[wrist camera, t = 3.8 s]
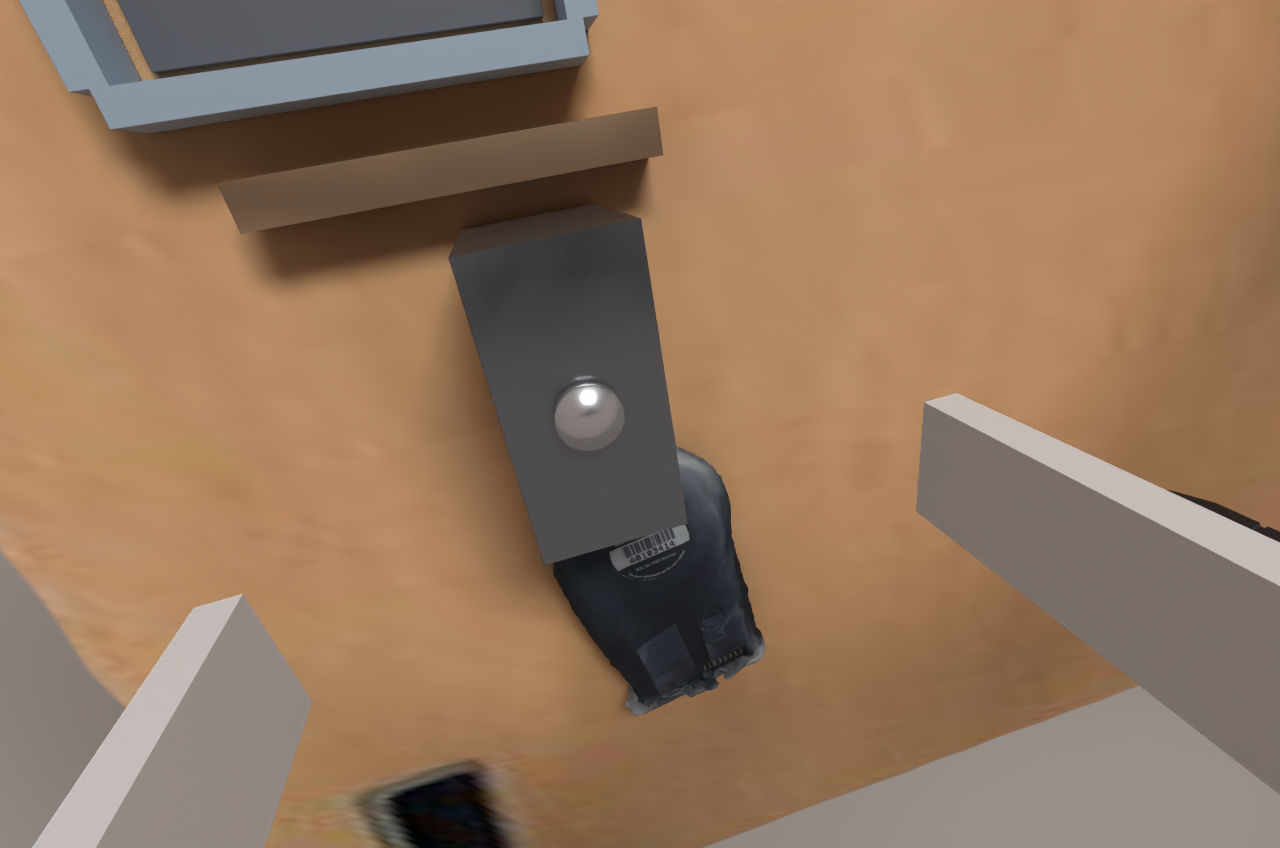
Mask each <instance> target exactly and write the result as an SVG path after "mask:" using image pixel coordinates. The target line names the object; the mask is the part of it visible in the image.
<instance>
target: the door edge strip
mask: <svg viewBox="0 0 1280 848" xmlns="http://www.w3.org/2000/svg"><path fill="white" fill-rule="evenodd" d="M661 155H663V150H662V142H661V135H660V127H659V119H658V111H657V107H652V108H646V109H641V110H635V111H629V112H623V113H618V114H612V115H606V116H600V117H594V118H589V119H583V120H577V121H571V122H566V123H560V124H554V125H548V126H542V127H537V128H531V129H525V130H519V131H513V132H508V133H502V134H496V135H490V136H485V137H479V138H473V139H467V140H461V141H456V142H450V143H444V144H438V145H433V146H427V147H421V148H415V149H409V150H404V151H398V152H392V153H386V154H381V155H375V156H369V157H363V158H357V159H352V160H346V161H340V162H334V163H329V164H323V165H317V166H311V167H305V168H300V169H294V170H288V171H282V172H276V173H271V174H265V175H259V176H253V177H248V178H242V179H236V180H230V181H224V182H219V183H217V184H218V186H219V188H220V190H221V193H222V195H223V197H224V199H225V201H226V203H227V205H228V208H229V210H230V212H231V214H232V216H233V218H234V220H235V223H236V225H237V227H238V229H239V231H240V233H241V234H243V233H249V232H254V231H259V230H265V229H270V228H275V227H281V226H286V225H292V224H297V223H302V222H308V221H313V220H318V219H324V218H329V217H334V216H340V215H345V214H350V213H356V212H361V211H366V210H372V209H377V208H383V207H388V206H393V205H399V204H404V203H409V202H415V201H420V200H425V199H431V198H436V197H441V196H447V195H452V194H458V193H463V192H468V191H474V190H479V189H484V188H490V187H495V186H500V185H506V184H511V183H516V182H522V181H527V180H532V179H538V178H543V177H549V176H554V175H559V174H565V173H570V172H575V171H581V170H586V169H591V168H597V167H602V166H607V165H613V164H618V163H623V162H629V161H634V160H640V159H645V158H650V157H656V156H661Z"/></svg>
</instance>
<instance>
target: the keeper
mask: <svg viewBox="0 0 1280 848" xmlns="http://www.w3.org/2000/svg"><path fill="white" fill-rule="evenodd" d="M19 1H20V3H21V5H22V6H23V8H24V10H25V12H26V14H27V16H28V18H29V19H30V21H31V23H32V25H33V27H34V29H35V30H36V32H37V34H38V36H39V38H40V40H41V41H42V43H43V45H44V47H45V49H46V51H47V53H48V54H49V56H50V58H51V60H52V62H53V64H54V65H55V67H56V69H57V71H58V73H59V75H60V76H61V78H62V80H63V82H64V84H65V86H66V87H67V89H68V91H69V92H72V93H78V94H83V95H88V96H93V97H94V99H95V101H96V103H97V105H98V107H99V109H100V111H101V113H102V115H103V116H104V118H105V120H106V122H107V124H108V126H109V128H110V130H120V131H129V132H138V133H147V134H150V133H157V132H163V131H169V130H176V129H182V128H188V127H195V126H201V125H207V124H214V123H220V122H226V121H233V120H239V119H245V118H252V117H258V116H264V115H270V114H277V113H283V112H289V111H296V110H302V109H308V108H315V107H321V106H327V105H334V104H340V103H346V102H353V101H359V100H365V99H372V98H378V97H384V96H391V95H397V94H403V93H410V92H416V91H422V90H429V89H435V88H441V87H448V86H454V85H460V84H466V83H473V82H479V81H485V80H492V79H498V78H504V77H511V76H517V75H523V74H530V73H536V72H542V71H549V70H555V69H561V68H568V67H574V66H580V65H581V64H582V63H583V62H584V61H585V60H586V58H587V57H588V56H589V49H588V43H587V38H586V32H585V30H588V29H589V28H590V27H591V25H592V24H593V22H594V21H595V19H596V18H597V16H598V9H597V2H596V0H554V3H555V9H556V14H557V19H558V21H553V22H547V23H540V24H533V25H526V26H519V27H512V28H505V29H498V30H491V31H485V32H478V33H471V34H464V35H457V36H450V37H443V38H436V39H429V40H422V41H416V42H409V43H402V44H395V45H388V46H381V47H374V48H367V49H360V50H354V51H347V52H340V53H333V54H326V55H319V56H312V57H305V58H298V59H292V60H285V61H278V62H271V63H264V64H257V65H250V66H243V67H236V68H230V69H223V70H216V71H209V72H202V73H195V74H188V75H181V76H174V77H168V78H161V79H154V80H147V81H141V79H140V77H139V74H138V72H137V70H136V68H135V66H134V64H133V62H132V60H131V58H130V56H129V54H128V52H127V50H126V48H125V46H124V44H123V42H122V40H121V38H120V36H119V34H118V31H117V29H116V27H115V25H114V23H113V21H112V19H111V17H110V15H109V13H108V11H107V9H106V7H105V5H104V3H103V1H102V0H19ZM118 2H119V4H120V7H121V9H122V11H123V13H124V15H125V17H126V19H127V21H128V23H129V25H130V27H131V30H132V32H133V34H134V36H135V38H136V40H137V42H138V44H139V46H140V48H141V50H142V53H143V55H144V57H145V59H146V61H147V63H148V65H149V67H150V69H151V71H152V72H154V73H164V72H171V71H178V70H185V69H192V68H199V67H205V66H212V65H219V64H226V63H233V62H240V61H247V60H254V59H261V58H268V57H275V56H282V55H289V54H296V53H303V52H310V51H317V50H324V49H331V48H338V47H345V46H352V45H359V44H365V43H372V42H379V41H386V40H393V39H400V38H407V37H414V36H421V35H428V34H435V33H442V32H449V31H456V30H463V29H470V28H477V27H484V26H491V25H498V24H505V23H512V22H519V21H525V20H532V19H539V18H543V13H542V7H541V2H540V0H118Z"/></svg>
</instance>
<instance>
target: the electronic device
mask: <svg viewBox="0 0 1280 848" xmlns="http://www.w3.org/2000/svg"><path fill="white" fill-rule="evenodd" d="M676 451H677V458H678V464H679V471H680V477H681V484H682V490H683V497H684V504H685V510H686V517H687V523H688V524H685V525H681V526H678V527H675V528H671V529H668V530H664V531H661V532H657V533H654V534H650V535H647V536H644V537H640V538H637V539H633V540H630V541H626V542H623V543H620V544H616V545H613V546H609V547H606V548H602V549H599V550H595V551H592V552H589V553H585V554H582V555H578V556H575V557H571V558H568V559H565V560H561V561H558V562H554V563H553V572H554V576H555V578H556V579H557V581H558V583H559V585H560V586H561V588H562V590H563V592H564V595H565V596H566V598H567V599H568V600H569V602H570V605H571V607H572V609H573V611H574V613H575V614H576V615H577V616H578V617H579V619H580V621H581V622H582V624H583V625H584V626H585V628H586V629H587V631H588V633H589V634H590V636H591V637H592V639H593V640H594V641H595V642H596V644H597V645H598V646H599V647H600V649H601V650H602V652H603V653H604V654H605V656H606V657H607V658H608V659H609V661H610V663H611V665H613V666H614V667H615V668H616V669H617V670H619V671H620V673H621V674H622V675H623V677H624V678H625V680H626V681H627V682H628V683H629V688H628V698H627V702H626V704H625V706H626V708H627V709H630V711H631V712H632V714H633V715H635V716H637V715H644V714H646V713H648V712H650V711H652V710H654V709H656V708H658V707H660V706H662V705H664V704H666V703H668V702H670V701H672V700H674V699H676V698H678V697H680V696H682V695H688V696H689V697H693V696H695V695H697V694H700V693H702V692H704V691H707V690H713V689H715V688H717V687H718V685H719V683H718V682H717V681H716V679H717V677H718V676H720V675H722V674H725V675H724V679H728V678H730V677H733V676H734V675H735V674H736V673H737V672H738V671H739V670H740V669H742V668H743V667H745V666H747V665H750V664H753V663H756V662H758V661H759V660H760V659H761V658H762V657H763V654H764V651H765V643H764V639H763V636H762V634H761V631H760V630H759V629H758V628H757V627H756V625H755V621H754V615H753V612H752V608H751V604H750V602H749V598H748V587H747V585H746V584H745V582H744V579H743V575H742V573H741V568H740V563H739V560H738V558H737V554H736V551H735V547H734V541H733V539H732V536H731V535H732V530H731V506H730V501H729V497H728V494H727V491H726V488H725V486H724V484H723V482H722V479H721V476H720V475H718V474H717V473H716V470H715V469H714V468H713V466H711V465H710V464H708V463H707V462H706V461H705V460H704V459H702V458H700V457H699V456H697V455H695V454H693V453H691V452H688V451H686V450H684V449H682V448H679V447H676Z"/></svg>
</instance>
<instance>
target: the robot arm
mask: <svg viewBox="0 0 1280 848" xmlns="http://www.w3.org/2000/svg"><path fill="white" fill-rule="evenodd" d="M916 511H917V512H918V513H919V514H920V515H922V516H923V517H924V518H926V519H927V520H928V521H929V522H931V523H932V524H933V525H934V526H936V527H937V528H938V529H940V530H941V531H942V532H943V533H945V534H946V535H947V536H949V537H950V538H951V539H952V540H954V541H955V542H956V543H958V544H959V545H960V546H961V547H963V548H964V549H965V550H967V551H968V552H969V553H970V554H972V555H973V556H974V557H976V558H977V559H978V560H979V561H981V562H982V563H983V564H984V565H986V566H987V567H988V568H990V569H991V570H992V571H993V572H995V573H996V574H997V575H999V576H1000V577H1001V578H1002V579H1004V580H1005V581H1006V582H1008V583H1009V584H1010V585H1011V586H1013V587H1014V588H1015V589H1017V590H1018V591H1019V592H1020V593H1022V594H1023V595H1024V596H1026V597H1027V598H1028V599H1029V600H1031V601H1032V602H1033V603H1034V604H1036V605H1037V606H1038V607H1040V608H1041V609H1042V610H1043V611H1045V612H1046V613H1047V614H1049V615H1050V616H1051V617H1052V618H1054V619H1055V620H1056V621H1058V622H1059V623H1060V624H1061V625H1063V626H1064V627H1065V628H1067V629H1068V630H1069V631H1070V632H1072V633H1073V634H1074V635H1076V636H1077V637H1078V638H1079V639H1081V640H1082V641H1083V642H1084V643H1086V644H1087V645H1088V646H1090V647H1091V648H1092V649H1093V650H1095V651H1096V652H1097V653H1099V654H1100V655H1101V656H1102V657H1104V658H1105V659H1106V660H1108V661H1109V662H1110V663H1111V664H1113V665H1114V666H1115V667H1117V668H1118V669H1119V670H1120V671H1122V672H1123V673H1124V674H1126V675H1127V676H1128V677H1129V678H1131V679H1132V680H1133V681H1134V682H1136V683H1137V684H1138V685H1140V686H1141V687H1142V688H1143V689H1145V690H1146V691H1147V692H1149V693H1150V694H1151V695H1152V696H1154V697H1155V698H1156V699H1158V700H1159V701H1160V702H1161V703H1163V704H1164V705H1165V706H1167V707H1168V708H1169V709H1170V710H1172V711H1173V712H1174V713H1176V714H1177V715H1179V717H1181V718H1182V719H1183V720H1184V721H1186V722H1187V723H1188V724H1190V725H1191V726H1192V727H1193V728H1195V729H1196V730H1197V731H1199V732H1200V733H1201V734H1203V735H1204V736H1205V737H1206V738H1208V739H1209V740H1210V741H1211V742H1213V743H1214V744H1215V745H1217V746H1218V747H1219V748H1220V749H1222V750H1223V751H1224V752H1226V753H1227V754H1228V755H1229V756H1231V757H1232V758H1233V759H1235V760H1236V761H1237V762H1238V763H1240V764H1241V765H1242V766H1243V767H1245V768H1246V769H1247V770H1249V771H1250V772H1251V773H1252V774H1254V775H1255V776H1256V777H1258V778H1259V779H1260V780H1261V781H1263V782H1264V783H1265V784H1267V785H1268V786H1269V787H1270V788H1272V789H1273V790H1274V791H1276V792H1277V793H1278V794H1280V532H1279V531H1277V530H1275V529H1272V528H1270V527H1267V528H1263V527H1261V526H1260V523H1259V522H1257V521H1255V520H1252V519H1250V518H1248V517H1246V516H1243V515H1241V514H1239V513H1237V512H1234V511H1232V510H1230V509H1228V508H1226V507H1223V506H1221V505H1219V504H1217V503H1214V502H1210V501H1207V500H1203V499H1199V498H1196V497H1192V496H1189V495H1185V494H1182V493H1178V492H1174V491H1171V490H1165V489H1163V488H1161V487H1158V486H1156V485H1154V484H1152V483H1150V482H1148V481H1145V480H1143V479H1141V478H1139V477H1137V476H1135V475H1133V474H1130V473H1128V472H1126V471H1124V470H1122V469H1120V468H1117V467H1115V466H1113V465H1111V464H1109V463H1107V462H1104V461H1102V460H1100V459H1098V458H1096V457H1094V456H1091V455H1089V454H1087V453H1085V452H1083V451H1081V450H1078V449H1076V448H1074V447H1072V446H1070V445H1068V444H1065V443H1063V442H1061V441H1059V440H1057V439H1055V438H1052V437H1050V436H1048V435H1046V434H1044V433H1042V432H1040V431H1037V430H1035V429H1033V428H1031V427H1029V426H1027V425H1024V424H1022V423H1020V422H1018V421H1016V420H1014V419H1011V418H1009V417H1007V416H1005V415H1003V414H1001V413H998V412H996V411H994V410H992V409H990V408H988V407H985V406H983V405H981V404H979V403H977V402H975V401H972V400H970V399H968V398H966V397H964V396H962V395H959V394H957V393H955V394H952V395H948V396H945V397H941V398H938V399H934V400H930V401H927V402H924V412H923V426H922V439H921V453H920V466H919V479H918V493H917V506H916ZM311 704H312V700H311V699H310V697H309V695H308V694H307V692H306V691H305V689H304V688H303V686H302V685H301V683H300V682H299V680H298V678H297V677H296V675H295V674H294V672H293V671H292V669H291V668H290V666H289V664H288V663H287V661H286V660H285V658H284V657H283V655H282V654H281V652H280V651H279V649H278V647H277V646H276V644H275V643H274V641H273V640H272V638H271V637H270V635H269V633H268V632H267V630H266V629H265V627H264V626H263V624H262V623H261V621H260V620H259V618H258V616H257V615H256V613H255V612H254V610H253V609H252V607H251V606H250V604H249V603H248V601H247V599H246V598H245V596H244V595H243V594H241V595H237V596H234V597H230V598H227V599H223V600H219V601H216V602H212V603H209V604H205V605H202V606H198V607H195V608H193V610H192V611H191V613H190V614H189V616H188V617H187V619H186V620H185V622H184V623H183V625H182V626H181V628H180V629H179V631H178V632H177V634H176V635H175V636H174V638H173V639H172V641H171V642H170V644H169V645H168V647H167V648H166V650H165V651H164V653H163V654H162V656H161V657H160V659H159V660H158V662H157V663H156V665H155V666H154V668H153V669H152V671H151V672H150V674H149V675H148V676H147V678H146V679H145V681H144V682H143V684H142V685H141V687H140V688H139V690H138V691H137V693H136V694H135V696H134V697H133V699H132V700H131V702H130V703H129V705H128V706H127V708H126V709H125V711H124V712H123V714H122V715H121V717H120V718H119V719H118V721H117V723H116V724H115V725H114V727H113V728H112V730H111V731H110V733H109V734H108V736H107V737H106V739H105V740H104V742H103V743H102V745H101V746H100V748H99V750H98V751H97V752H96V754H95V755H94V757H93V758H92V760H91V761H90V763H89V764H88V765H87V767H86V769H85V770H84V771H83V773H82V774H81V776H80V777H79V779H78V780H77V782H76V783H75V785H74V786H73V788H72V789H71V791H70V792H69V794H68V795H67V797H66V798H65V800H64V801H63V803H62V804H61V806H60V807H59V808H58V810H57V811H56V813H55V814H54V816H53V817H52V819H51V820H50V822H49V823H48V825H47V826H46V828H45V829H44V831H43V832H42V834H41V835H40V837H39V838H38V840H37V841H36V843H35V844H34V845H33V847H32V848H264V847H265V844H266V841H267V838H268V835H269V832H270V829H271V826H272V823H273V820H274V817H275V814H276V811H277V808H278V804H279V801H280V798H281V795H282V792H283V789H284V786H285V783H286V780H287V777H288V774H289V771H290V768H291V765H292V762H293V759H294V756H295V753H296V750H297V747H298V744H299V741H300V738H301V735H302V732H303V729H304V725H305V722H306V719H307V716H308V713H309V710H310V707H311Z"/></svg>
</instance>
